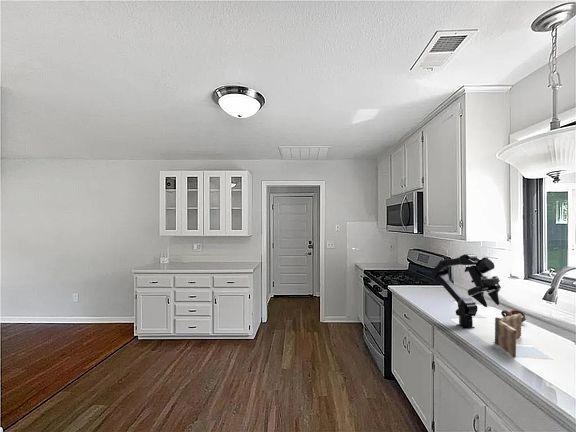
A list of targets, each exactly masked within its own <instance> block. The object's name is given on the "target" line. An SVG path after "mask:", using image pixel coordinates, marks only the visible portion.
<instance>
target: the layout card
mask: <svg viewBox="0 0 576 432" xmlns="http://www.w3.org/2000/svg"><path fill="white" fill-rule="evenodd" d="M491 343H492V344H493V346H495V347H497V348H498V349H499V350H500V351H501V352H503V353H504V354H505V355H506V356H507V357H512V358H514V357H513V356H511V355H510V354H509V353H508V352H506V351H505V350H504V349H503V348H501V347H500V346H499V345H497V344H495V341H493V342H492V341H491ZM515 358H524V359H525V358H526V359H527V358H529V359H541V360H551V361H552V360H554V359H553V358H551V357H550V356H549V355H547V354H545V353H544V352H542V351H541V350H539V349H538V348H536V347H535V346H533V345H531V344H525V343H516V357H515Z"/></svg>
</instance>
